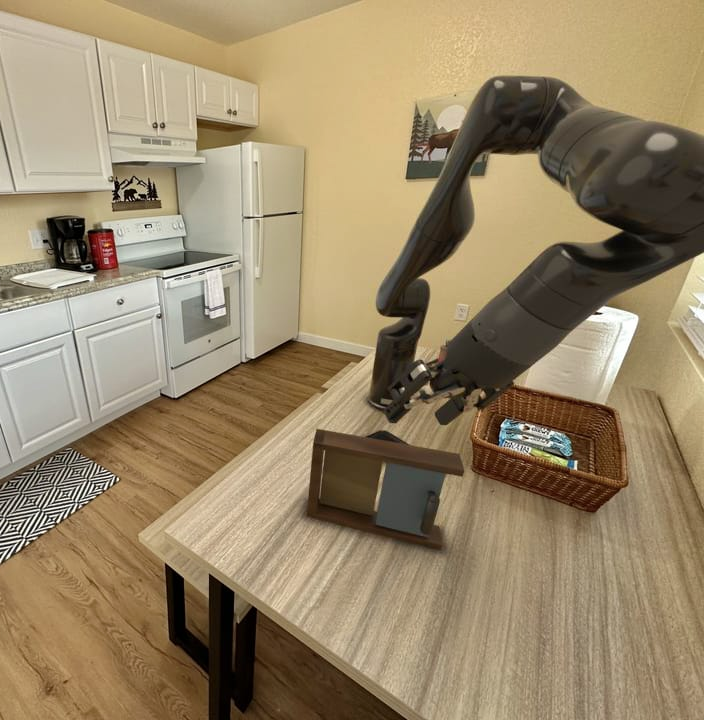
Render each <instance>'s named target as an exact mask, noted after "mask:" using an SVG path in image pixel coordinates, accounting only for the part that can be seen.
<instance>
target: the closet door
mask: <svg viewBox="0 0 704 720" xmlns="http://www.w3.org/2000/svg"><path fill="white" fill-rule="evenodd" d="M446 476H447V474H445V473H440V472H435V471H429V470H424V469H419V468H414V467H409V466H403V465H398V464H393V463H388V462H385V468H384V473H383V477H382V484H381V489H380V494H379V499H378V505H377V509H376V511H377V515H376V520H375V524H376V525H379V526H383V527H387V528H391V529H395V530H399V531H403V532H407V533H411V534H416V535H420V536H424V537H429V535H430V534H431V533H432V529H433V526H434V525H435V523H436V518H437V514H438V512H439V507H440V503H441V498H440V497H441V493H442V490H443V487H444V482H445V479H446Z"/></svg>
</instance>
